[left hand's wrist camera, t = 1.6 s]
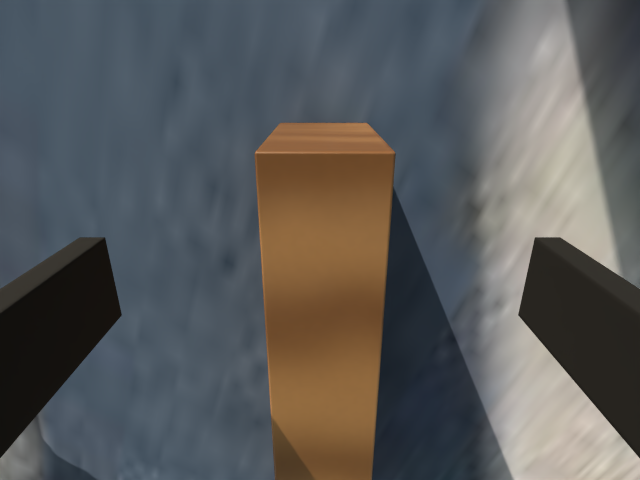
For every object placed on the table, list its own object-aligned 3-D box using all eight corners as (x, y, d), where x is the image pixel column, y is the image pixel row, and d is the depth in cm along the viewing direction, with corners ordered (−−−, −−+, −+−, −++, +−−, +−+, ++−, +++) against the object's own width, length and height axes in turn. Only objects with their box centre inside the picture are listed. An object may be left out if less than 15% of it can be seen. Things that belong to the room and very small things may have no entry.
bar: (279, 122, 21) (254, 151, 13) (367, 122, 21) (396, 151, 13) (293, 492, 31) (284, 629, 24) (351, 493, 31) (361, 630, 24)
